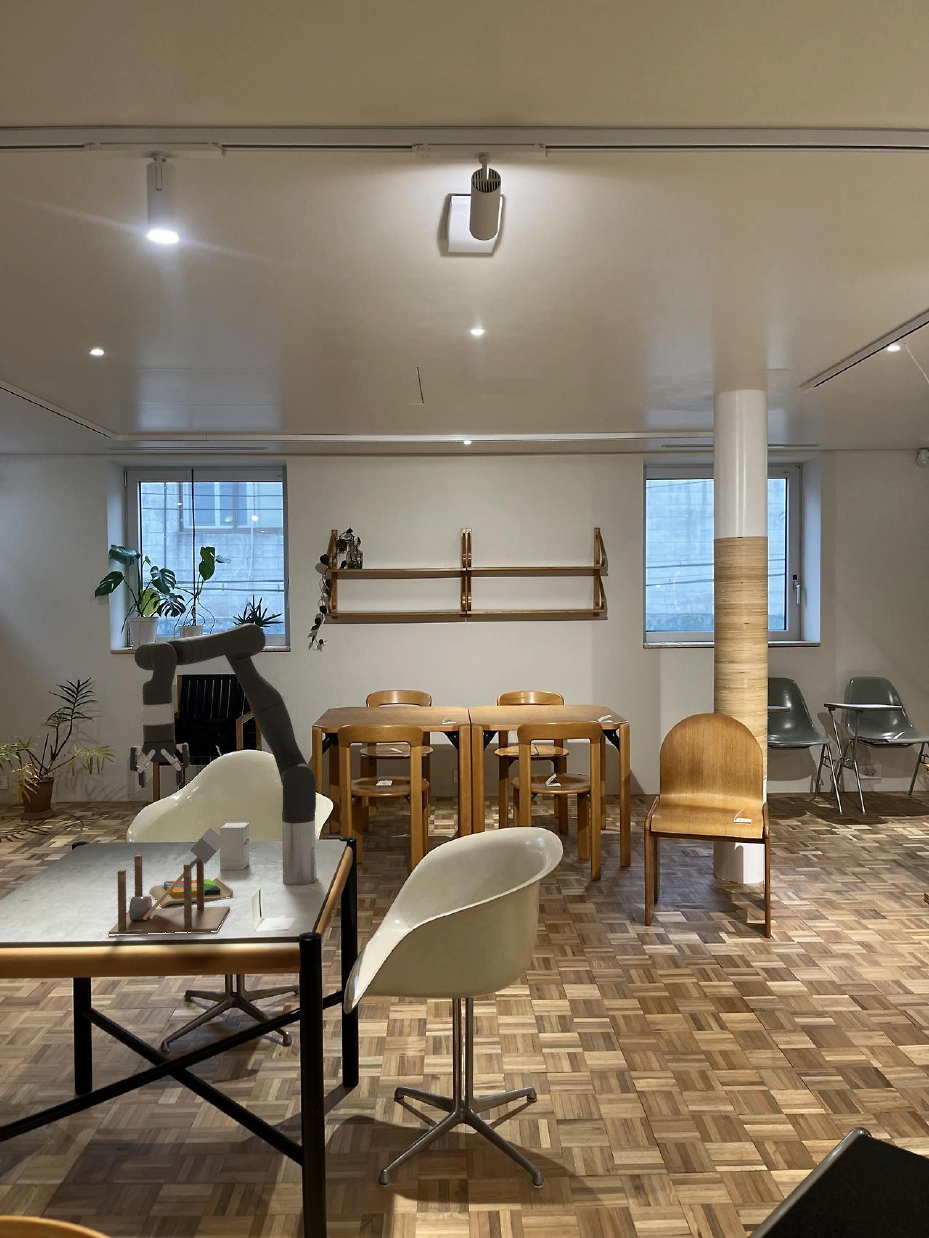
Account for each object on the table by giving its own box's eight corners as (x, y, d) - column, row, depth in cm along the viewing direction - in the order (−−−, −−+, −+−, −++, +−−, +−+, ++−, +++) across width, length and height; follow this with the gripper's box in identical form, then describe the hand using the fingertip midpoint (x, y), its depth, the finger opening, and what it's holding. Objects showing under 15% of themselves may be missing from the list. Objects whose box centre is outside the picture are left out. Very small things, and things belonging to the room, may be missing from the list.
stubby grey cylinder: (151, 893, 228) (135, 893, 228) (145, 900, 223) (128, 901, 223) (152, 915, 229) (135, 916, 228) (146, 923, 223) (129, 924, 223)
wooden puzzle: (234, 899, 247) (234, 885, 247) (162, 910, 238) (162, 897, 238) (217, 883, 262) (217, 871, 262) (148, 894, 253) (148, 881, 253)
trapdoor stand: (229, 910, 236) (229, 847, 236) (217, 932, 219) (216, 864, 219) (129, 913, 234) (128, 850, 234) (108, 936, 217) (107, 868, 217)
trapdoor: (225, 840, 233) (210, 827, 233) (216, 851, 221) (200, 838, 221) (163, 909, 232) (147, 896, 232) (150, 924, 220) (134, 911, 220)
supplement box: (244, 869, 275) (243, 827, 275) (219, 870, 275) (218, 827, 275) (250, 863, 282) (249, 822, 282) (226, 863, 282) (225, 822, 282)
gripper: (190, 718, 236) (193, 781, 236) (132, 721, 235) (135, 785, 235) (184, 721, 229) (187, 787, 229) (125, 725, 227) (128, 790, 227)
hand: (161, 786), depth 232 cm, fingers open, 8 cm apart
